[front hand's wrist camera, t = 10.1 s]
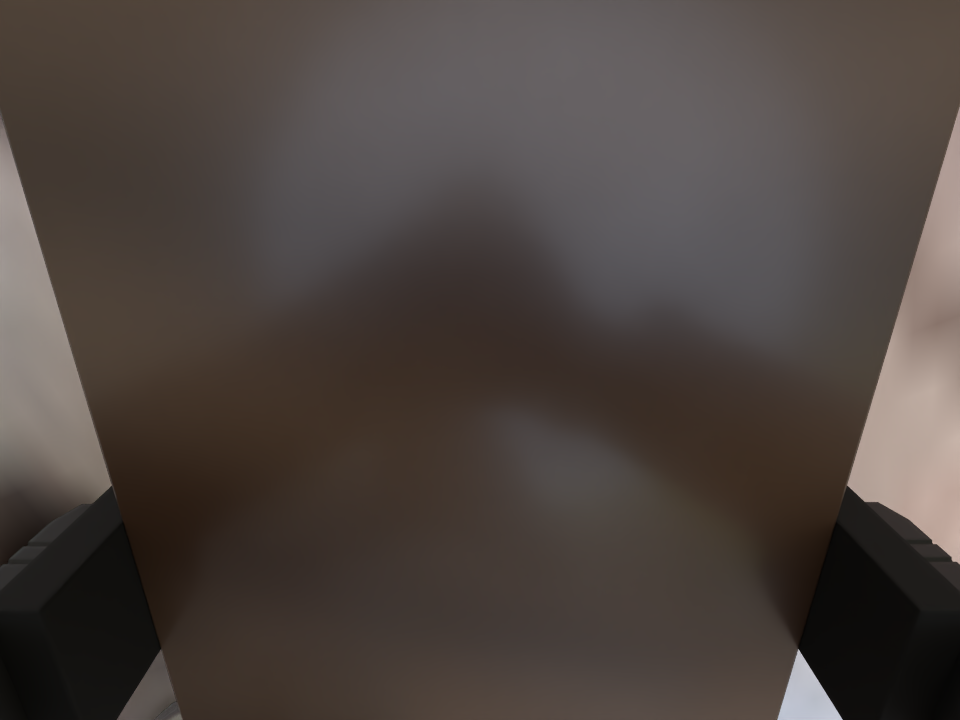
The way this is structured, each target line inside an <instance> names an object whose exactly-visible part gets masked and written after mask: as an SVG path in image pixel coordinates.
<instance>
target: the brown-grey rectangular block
mask: <svg viewBox="0 0 960 720" xmlns="http://www.w3.org/2000/svg"><path fill="white" fill-rule="evenodd" d="M959 107H960V0H0V114H1V117H2V120H3V124H4V127H5V130H6V134H7V137H8V140H9V144H10V147H11V150H12V154H13V157H14V160H15V164H16V167H17V170H18V174H19V177H20V180H21V184H22V187H23V190H24V194H25V197H26V200H27V204H28V207H29V210H30V214H31V217H32V220H33V224H34V227H35V230H36V234H37V237H38V240H39V244H40V247H41V250H42V254H43V257H44V260H45V264H46V267H47V270H48V274H49V277H50V280H51V284H52V287H53V290H54V294H55V297H56V300H57V304H58V307H59V310H60V314H61V317H62V320H63V324H64V327H65V330H66V334H67V337H68V340H69V344H70V347H71V350H72V354H73V357H74V361H75V364H76V367H77V371H78V374H79V377H80V381H81V384H82V387H83V391H84V394H85V397H86V401H87V404H88V407H89V411H90V414H91V417H92V421H93V424H94V427H95V431H96V434H97V437H98V441H99V444H100V447H101V451H102V454H103V457H104V461H105V464H106V467H107V471H108V474H109V477H110V481H111V484H112V487H113V491H114V494H115V497H116V501H117V504H118V507H119V511H120V514H121V517H122V521H123V524H124V527H125V531H126V534H127V537H128V541H129V544H130V547H131V551H132V554H133V557H134V561H135V564H136V567H137V571H138V574H139V577H140V581H141V584H142V587H143V591H144V594H145V597H146V601H147V604H148V607H149V611H150V614H151V617H152V621H153V624H154V627H155V631H156V634H157V637H158V641H159V644H160V647H161V651H162V654H163V657H164V661H165V664H166V667H167V671H168V674H169V677H170V681H171V684H172V687H173V691H174V694H175V697H176V701H177V704H178V707H179V711H180V714H181V717H182V720H777V719H778V715H779V712H780V709H781V705H782V702H783V699H784V695H785V692H786V688H787V685H788V682H789V678H790V675H791V672H792V668H793V665H794V662H795V658H796V655H797V651H798V648H799V645H800V641H801V638H802V635H803V631H804V628H805V625H806V621H807V618H808V614H809V611H810V608H811V604H812V601H813V598H814V594H815V591H816V588H817V584H818V581H819V577H820V574H821V571H822V567H823V564H824V561H825V557H826V554H827V551H828V547H829V544H830V540H831V537H832V534H833V530H834V527H835V524H836V520H837V517H838V514H839V510H840V507H841V503H842V500H843V497H844V493H845V490H846V487H847V483H848V480H849V477H850V473H851V470H852V466H853V463H854V460H855V456H856V453H857V450H858V446H859V443H860V440H861V436H862V433H863V429H864V426H865V423H866V419H867V416H868V413H869V409H870V406H871V403H872V399H873V396H874V392H875V389H876V386H877V382H878V379H879V376H880V372H881V369H882V366H883V362H884V359H885V355H886V352H887V349H888V345H889V342H890V339H891V335H892V332H893V329H894V325H895V322H896V318H897V315H898V312H899V308H900V305H901V302H902V298H903V295H904V292H905V288H906V285H907V281H908V278H909V275H910V271H911V268H912V265H913V261H914V258H915V255H916V251H917V248H918V244H919V241H920V238H921V234H922V231H923V228H924V224H925V221H926V218H927V214H928V211H929V207H930V204H931V201H932V197H933V194H934V191H935V187H936V184H937V181H938V177H939V174H940V170H941V167H942V164H943V160H944V157H945V154H946V150H947V147H948V144H949V140H950V137H951V133H952V130H953V127H954V123H955V120H956V117H957V113H958V110H959Z"/></svg>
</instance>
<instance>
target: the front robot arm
mask: <svg viewBox="0 0 960 720" xmlns="http://www.w3.org/2000/svg"><path fill="white" fill-rule="evenodd" d="M951 558H952V557H950V556H949V555H948V554H947V553H946V552H945V551H944V550H943V549H941V548H940V547H939V546H938V545H937V544H933V543H932V540H931V539H930V538H929V537H928V536H927V535H926V534H924V533H923V532H922V531H921V530H920V529H919V528H918V527H917V526H915V525H914V524H913V523H912V522H911V521H910V520H908V519H907V518H905V517H903V516H901V515H900V514H898V513H896V512H894V511H893V510H891V509H889V508H887V507H885V506H884V505H882V504H880V503H878V502H864V501H863V500H862V499H861V498H860V497H859V496H858V495H857V494H856V493H855V492H854V491H852V490H851V489H850V488H849V487H848V486H847V487H846V490H845V493H844V497H843V500H842V503H841V507H840V510H839V514H838V517H837V520H836V524H835V527H834V530H833V534H832V537H831V540H830V544H829V547H828V551H827V554H826V557H825V561H824V564H823V567H822V571H821V574H820V577H819V581H818V584H817V588H816V591H815V594H814V598H813V601H812V604H811V608H810V611H809V614H808V618H807V621H806V625H805V628H804V631H803V635H802V638H801V641H800V645H799V648H798V649H799V650H800V652H801V654H802V655H803V657H804V658H805V660H806V662H807V663H808V665H809V666H810V668H811V670H812V671H813V673H814V674H815V676H816V678H817V679H818V681H819V682H820V684H821V686H822V687H823V689H824V690H825V692H826V694H827V695H828V697H829V698H830V700H831V701H832V703H833V705H834V706H835V708H836V709H837V711H838V713H839V714H840V716H841V717H842V719H843V720H960V564H958V563H957V562H953V561H952V559H951ZM160 650H161V647H160V644H159V641H158V637H157V634H156V631H155V627H154V624H153V621H152V617H151V614H150V611H149V607H148V604H147V601H146V597H145V594H144V591H143V587H142V584H141V581H140V577H139V574H138V571H137V567H136V564H135V561H134V557H133V554H132V551H131V547H130V544H129V541H128V537H127V534H126V531H125V527H124V524H123V521H122V517H121V514H120V511H119V507H118V504H117V501H116V497H115V494H114V491H113V487H112V486H111V487H110V488H109V489H108V490H107V491H106V492H105V493H104V494H103V495H102V496H101V497H99V498H98V499H97V500H96V501H95V502H94V503H93V504H81V505H80V506H78V507H76V508H74V509H73V510H71V511H69V512H67V513H66V514H64V515H62V516H60V517H59V518H57V519H55V520H53V521H52V522H50V523H49V524H48V525H47V526H46V527H45V528H43V529H42V530H41V531H40V532H39V533H38V534H37V535H36V536H34V537H33V538H32V539H31V540H30V541H29V542H28V545H27V546H23V547H22V548H21V549H20V550H19V551H18V552H16V553H15V554H14V555H13V556H12V557H11V558H10V559H9V560H8V564H3V565H2V566H1V567H0V720H117V718H118V716H119V715H120V713H121V712H122V710H123V708H124V707H125V705H126V704H127V702H128V701H129V699H130V697H131V696H132V694H133V693H134V691H135V689H136V688H137V686H138V685H139V683H140V681H141V680H142V678H143V677H144V675H145V673H146V672H147V670H148V669H149V667H150V665H151V664H152V662H153V661H154V659H155V657H156V656H157V654H158V653H159V651H160ZM155 720H182V717H181V714H180V711H179V707H178V704H177V701H176V702H174V703H173V704H171V705H170V706H169V707H167V708H166V709H165V710H164V711H162V712H161V713H160V714H159V715H158V716H157V717H156V719H155Z"/></svg>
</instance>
